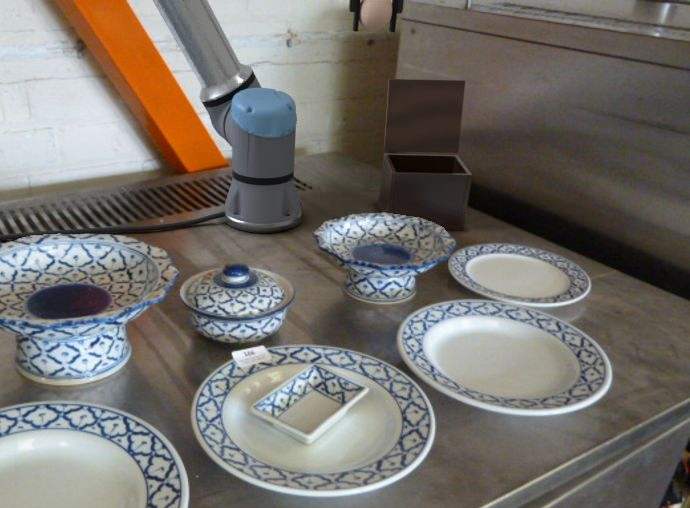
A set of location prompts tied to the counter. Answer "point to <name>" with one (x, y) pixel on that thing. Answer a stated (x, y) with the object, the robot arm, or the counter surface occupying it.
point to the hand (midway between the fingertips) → (373, 30)
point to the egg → (375, 14)
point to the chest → (426, 188)
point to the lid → (424, 115)
